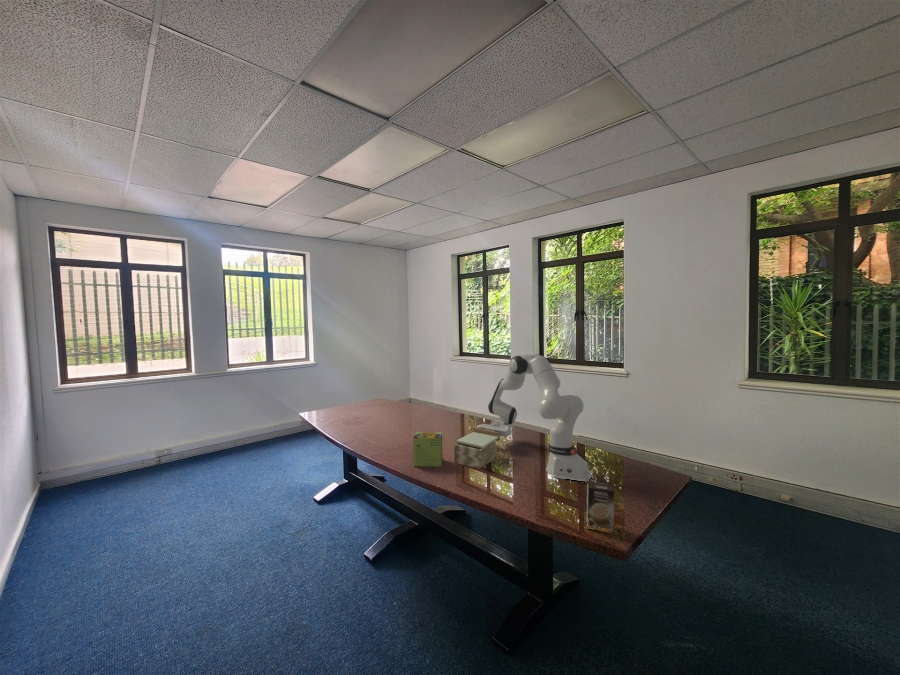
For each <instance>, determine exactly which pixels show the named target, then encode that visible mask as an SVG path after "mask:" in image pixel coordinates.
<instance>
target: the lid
mask: <svg viewBox="0 0 900 675" xmlns="http://www.w3.org/2000/svg"><path fill="white" fill-rule="evenodd" d="M500 440H501V436H500V432H495V431H490V430H484V429H479V428H477V427H473V429H472V432H470V433H469V434H466V435H464V436H463V437H460V438H458V439H456V441H455V442H456V443H460V444H464V445H469V446H473V447H478V448H485V447H486V446H488V445H489V444H491V443H493V442H494V441H496V442H499V441H500ZM456 443H455V444H456Z"/></svg>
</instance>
